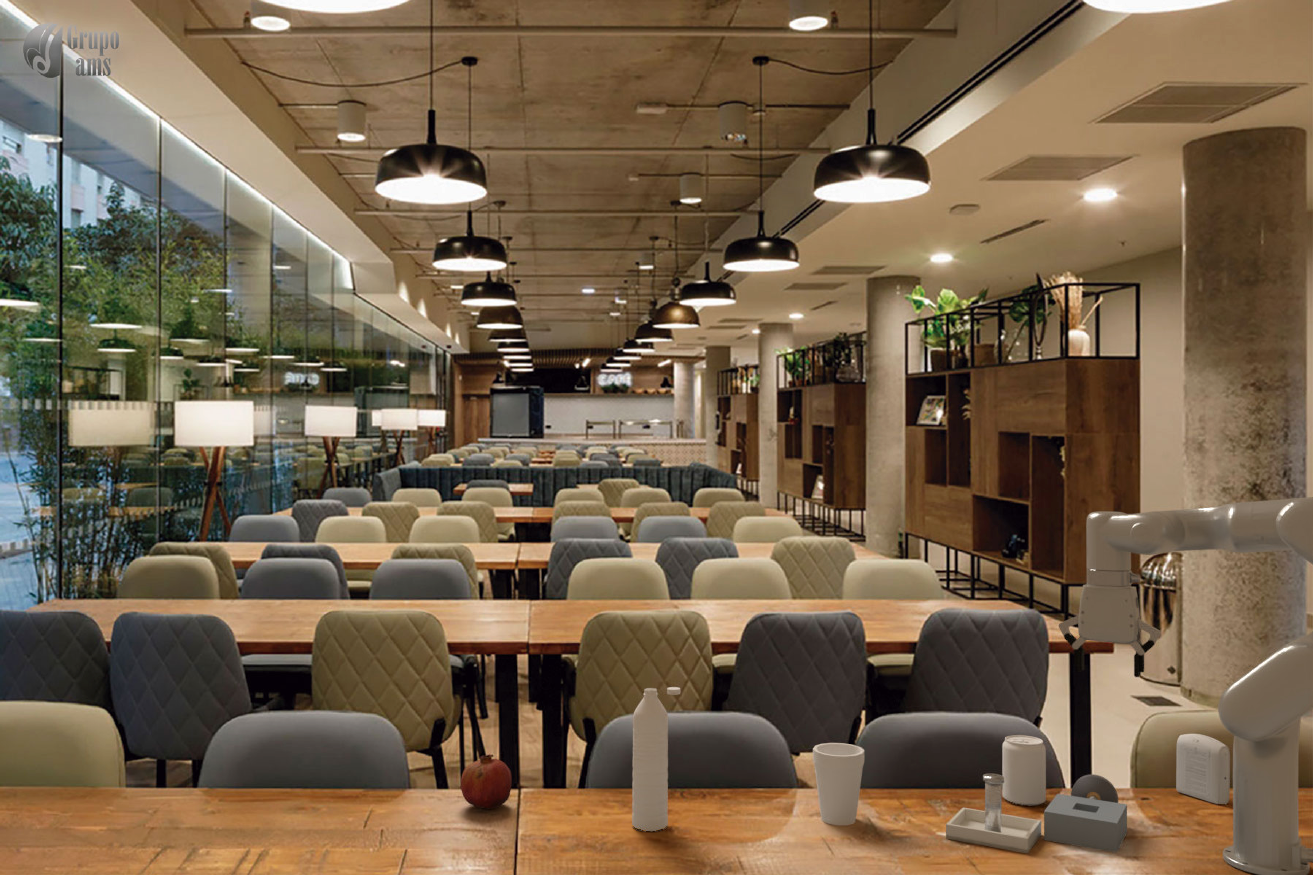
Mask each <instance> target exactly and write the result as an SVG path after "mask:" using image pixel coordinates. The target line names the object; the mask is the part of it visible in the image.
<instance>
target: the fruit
mask: <svg viewBox="0 0 1313 875" xmlns="http://www.w3.org/2000/svg"><path fill="white" fill-rule="evenodd" d="M493 757H494V754H490V753H489V754H486V755H480V757H479V760H475V761H473V762H471V763H469V764H468V765H467V766H466V767H465V768H464V769H463V772H462V774H461V778H460V789H461V793H462V796H463V798H464V800H465V802H467V803H468V804H469V805H471V806H473V807H477V808H481V809H487V810H489V809H495V808H497V807H499V806H502V805H504V804H505V803H506V802H507V801H508V800H509V798H510V795H511V790H512V772H511V769H510V768H509V767H508V765H507V764H506V763H505V762H503V760H500V759H497V758H493Z"/></svg>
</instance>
